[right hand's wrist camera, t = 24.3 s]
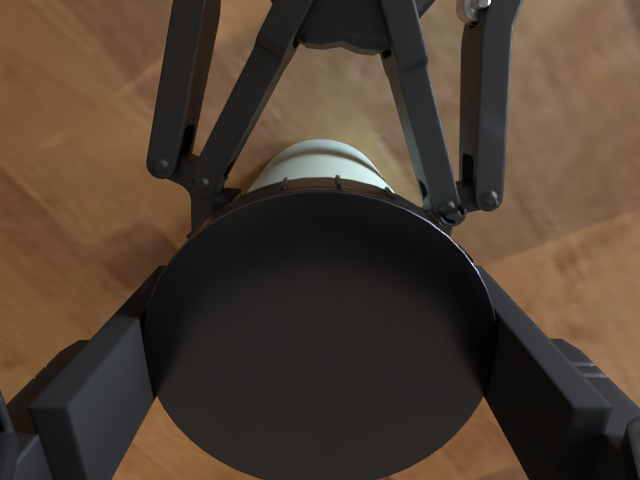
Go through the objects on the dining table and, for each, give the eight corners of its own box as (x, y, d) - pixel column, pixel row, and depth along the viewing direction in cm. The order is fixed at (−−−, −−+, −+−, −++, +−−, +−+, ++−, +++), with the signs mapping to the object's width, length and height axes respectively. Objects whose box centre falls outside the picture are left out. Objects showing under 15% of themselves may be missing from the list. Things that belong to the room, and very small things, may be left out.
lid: (264, 481, 15) (258, 526, 13) (97, 266, 12) (63, 293, 10) (517, 383, 13) (544, 422, 11) (401, 108, 10) (415, 110, 8)
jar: (355, 283, 28) (392, 481, 13) (237, 242, 26) (143, 410, 12) (408, 168, 25) (524, 266, 11) (278, 117, 24) (218, 151, 10)
